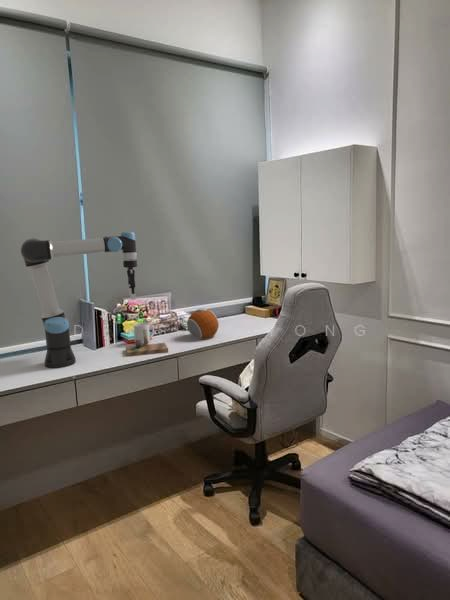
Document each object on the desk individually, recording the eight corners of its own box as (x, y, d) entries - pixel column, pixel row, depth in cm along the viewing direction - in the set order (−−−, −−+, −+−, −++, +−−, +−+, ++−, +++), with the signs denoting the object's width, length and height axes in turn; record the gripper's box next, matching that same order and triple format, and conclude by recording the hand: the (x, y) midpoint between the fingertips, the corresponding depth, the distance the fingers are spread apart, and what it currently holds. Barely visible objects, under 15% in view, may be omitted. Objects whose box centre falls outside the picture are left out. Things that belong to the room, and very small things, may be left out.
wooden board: (127, 356, 255) (127, 352, 255) (125, 350, 267) (125, 346, 267) (168, 351, 261) (167, 348, 260) (164, 346, 273) (164, 342, 273)
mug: (137, 345, 277) (136, 326, 275) (132, 342, 284) (131, 324, 282) (157, 342, 282) (156, 324, 280) (151, 339, 290) (150, 321, 288)
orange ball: (224, 336, 290) (223, 308, 287) (200, 342, 279) (199, 313, 277) (206, 331, 305) (205, 305, 302) (183, 336, 295) (181, 308, 292)
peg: (134, 350, 258) (132, 334, 256) (129, 349, 259) (128, 333, 258) (149, 344, 269) (148, 329, 267) (145, 343, 270) (144, 328, 269)
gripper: (138, 261, 254) (141, 300, 257) (135, 258, 278) (137, 294, 281) (124, 262, 252) (127, 301, 256) (121, 258, 276) (124, 295, 279)
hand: (132, 297), depth 268 cm, fingers open, 13 cm apart
